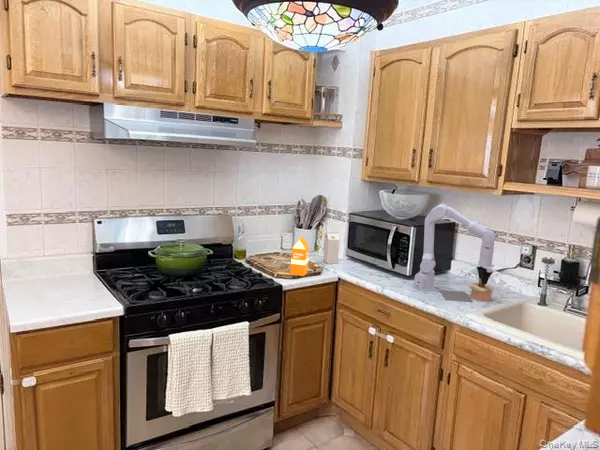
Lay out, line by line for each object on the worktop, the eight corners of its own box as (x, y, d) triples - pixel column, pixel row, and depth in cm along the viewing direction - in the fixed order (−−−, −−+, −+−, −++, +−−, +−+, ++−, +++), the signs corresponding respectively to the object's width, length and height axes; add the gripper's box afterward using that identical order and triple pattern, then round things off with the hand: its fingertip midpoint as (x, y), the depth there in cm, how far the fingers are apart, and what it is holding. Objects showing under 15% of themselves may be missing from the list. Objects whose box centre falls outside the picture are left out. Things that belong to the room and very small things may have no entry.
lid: (483, 293, 210) (484, 283, 209) (464, 286, 219) (465, 276, 218) (498, 290, 216) (499, 280, 215) (479, 284, 225) (480, 274, 224)
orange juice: (290, 274, 242) (292, 238, 239) (294, 270, 251) (296, 235, 247) (304, 276, 240) (306, 239, 237) (307, 271, 249) (310, 236, 246)
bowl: (482, 302, 212) (483, 292, 211) (467, 296, 220) (468, 287, 219) (494, 300, 217) (496, 290, 216) (479, 294, 224) (480, 285, 223)
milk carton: (323, 261, 275) (325, 230, 272) (334, 260, 277) (336, 230, 273) (326, 264, 268) (328, 233, 265) (337, 263, 270) (340, 233, 267)
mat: (445, 300, 212) (445, 300, 212) (438, 290, 228) (438, 289, 228) (473, 303, 211) (473, 302, 211) (464, 292, 227) (464, 291, 226)
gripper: (500, 259, 207) (496, 288, 209) (489, 252, 221) (486, 279, 224) (484, 258, 208) (481, 286, 210) (475, 251, 222) (472, 278, 224)
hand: (482, 282), depth 217 cm, fingers open, 3 cm apart
